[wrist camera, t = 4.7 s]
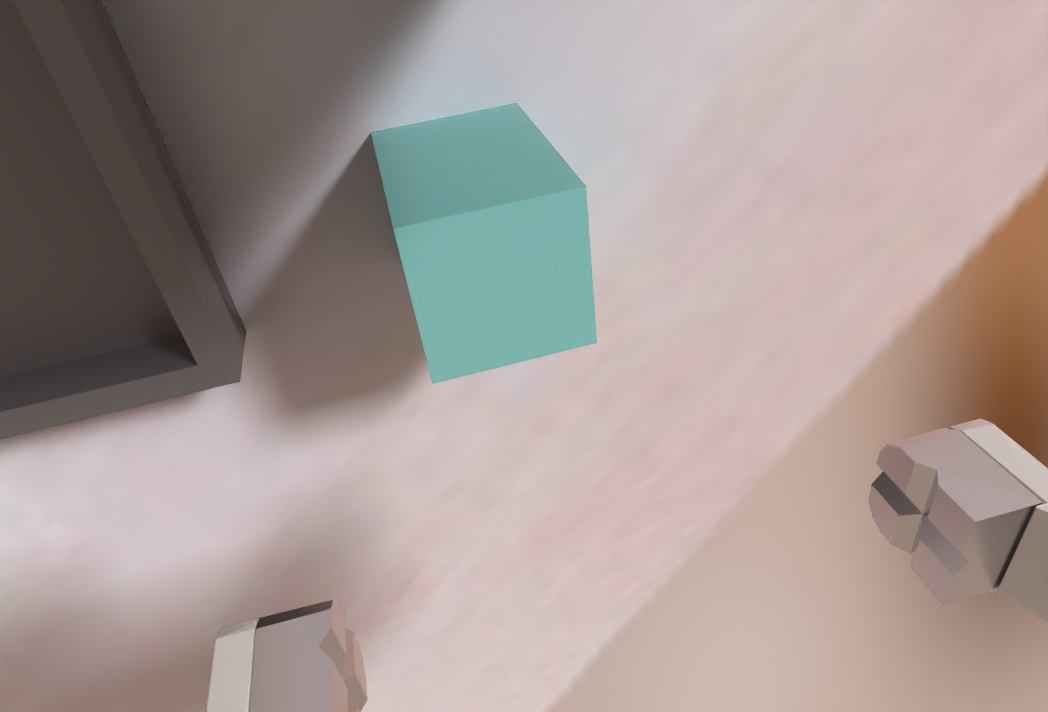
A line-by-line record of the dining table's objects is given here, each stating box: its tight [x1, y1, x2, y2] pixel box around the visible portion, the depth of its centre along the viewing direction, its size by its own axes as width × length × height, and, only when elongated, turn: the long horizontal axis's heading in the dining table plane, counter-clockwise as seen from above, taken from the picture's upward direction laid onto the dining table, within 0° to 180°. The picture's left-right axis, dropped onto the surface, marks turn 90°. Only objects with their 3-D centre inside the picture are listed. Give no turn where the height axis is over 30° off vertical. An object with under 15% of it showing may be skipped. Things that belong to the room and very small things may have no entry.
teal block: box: [371, 103, 597, 384], centre depth 18 cm, size 4×4×6 cm
